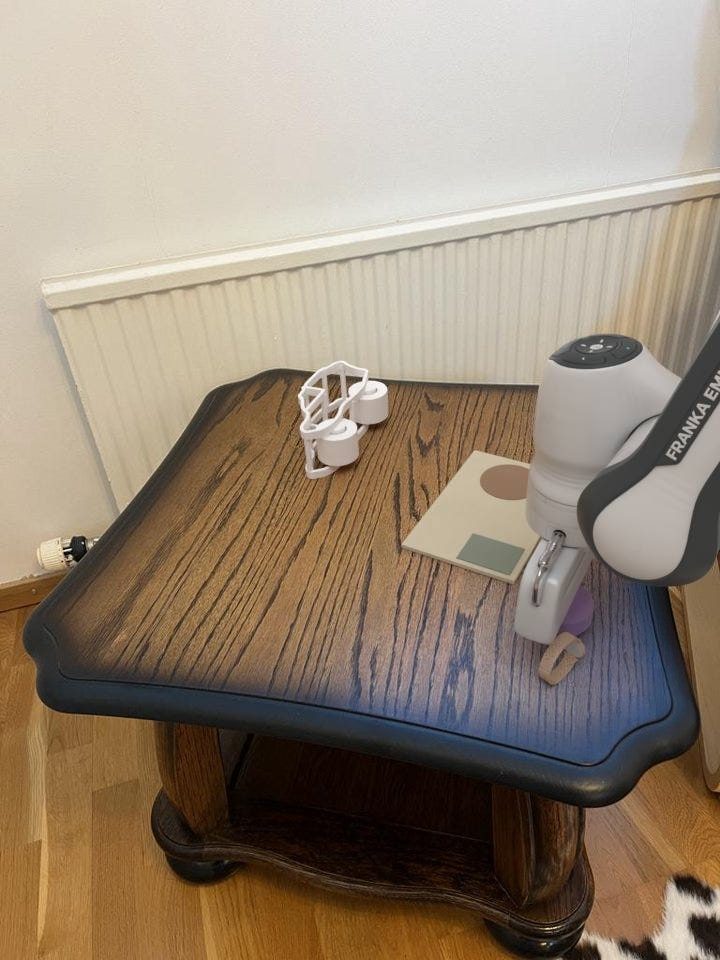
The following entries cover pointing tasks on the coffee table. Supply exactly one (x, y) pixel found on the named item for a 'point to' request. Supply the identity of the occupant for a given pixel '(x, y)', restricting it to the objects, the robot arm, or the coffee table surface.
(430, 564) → the coffee table surface
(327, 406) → the car outline toy
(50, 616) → the coffee table surface
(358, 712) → the coffee table surface
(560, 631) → the lavender hockey puck
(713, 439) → the robot arm
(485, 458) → the mat
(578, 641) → the perforated watch strap
